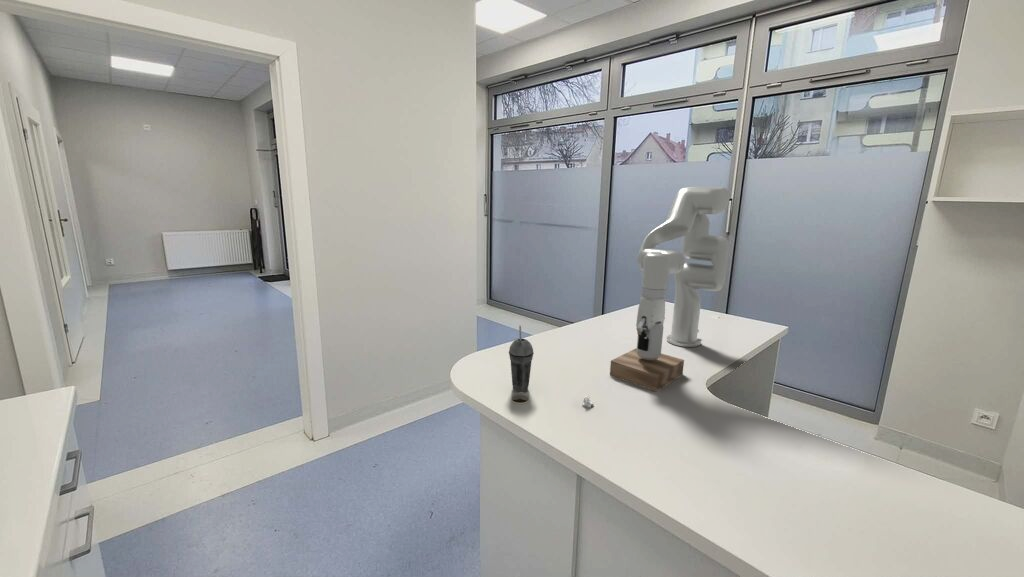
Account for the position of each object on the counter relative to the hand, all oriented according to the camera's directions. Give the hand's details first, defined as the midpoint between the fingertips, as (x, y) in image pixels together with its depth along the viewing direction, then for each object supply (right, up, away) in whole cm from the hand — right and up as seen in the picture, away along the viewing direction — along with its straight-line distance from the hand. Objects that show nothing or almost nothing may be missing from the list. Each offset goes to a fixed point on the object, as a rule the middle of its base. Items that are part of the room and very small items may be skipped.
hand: (649, 346), depth 134 cm
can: (0, -4, +1) cm, 4 cm away
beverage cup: (-41, -12, -9) cm, 44 cm away
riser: (0, -10, +2) cm, 10 cm away
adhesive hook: (-22, -15, -19) cm, 33 cm away
